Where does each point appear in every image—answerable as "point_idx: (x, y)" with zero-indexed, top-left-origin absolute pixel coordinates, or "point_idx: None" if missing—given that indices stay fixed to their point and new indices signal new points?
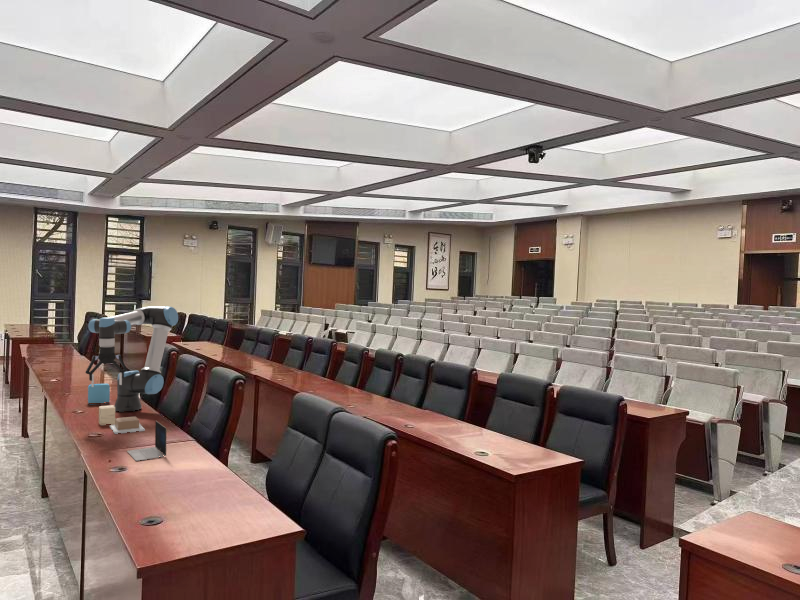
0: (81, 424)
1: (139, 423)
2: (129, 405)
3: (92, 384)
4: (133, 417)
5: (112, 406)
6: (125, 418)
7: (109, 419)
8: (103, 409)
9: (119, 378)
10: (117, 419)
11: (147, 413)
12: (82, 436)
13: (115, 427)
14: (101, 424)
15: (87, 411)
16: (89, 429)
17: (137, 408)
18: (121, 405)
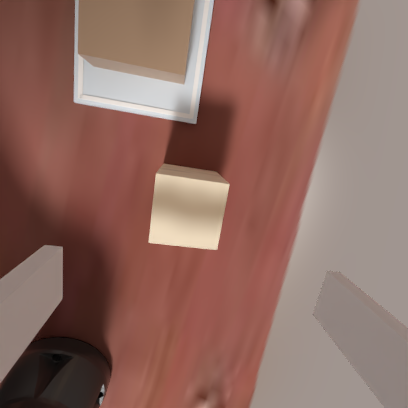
0: (262, 228)
1: (74, 63)
2: (50, 367)
3: (357, 289)
4: (94, 30)
5: (161, 210)
6: (139, 33)
7: (184, 169)
8: (215, 181)
9: (16, 359)
10: (182, 35)
11: None
12: (335, 7)
13: (191, 49)
14: (213, 171)
15: (185, 401)
16: (270, 126)
17: (26, 350)
18: (81, 372)
